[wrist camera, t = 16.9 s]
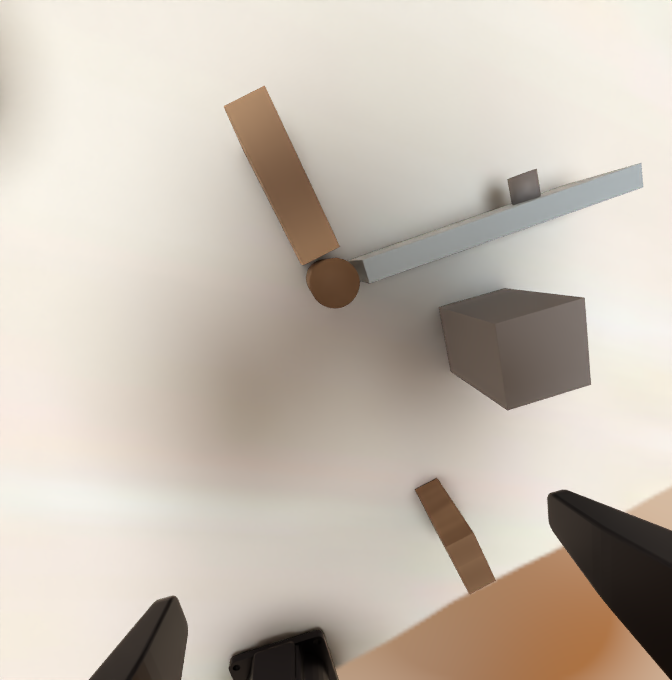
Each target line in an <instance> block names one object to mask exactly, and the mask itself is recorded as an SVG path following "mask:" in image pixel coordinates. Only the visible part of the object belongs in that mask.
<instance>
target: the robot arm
mask: <svg viewBox="0 0 672 680" xmlns="http://www.w3.org/2000/svg"><path fill="white" fill-rule="evenodd" d="M547 501H548V519H549V524H550V527H551V529H552V531H553V532H554V534H555V535H556V536H557V538H558V539H559V541H560V542H561V543H562V545H563V546H564V548H565V549H566V550H567V552H568V553H569V554H570V556H571V557H572V559H573V560H574V561H575V563H576V564H577V565H578V567H579V568H580V570H581V571H582V572H583V573H584V575H585V577H586V578H587V579H588V580H589V582H590V583H591V585H592V586H593V588H594V589H595V590H596V592H597V593H598V594H599V595H600V597H601V598H602V599H603V601H604V602H605V603H606V604H607V605H608V607H609V608H610V609H611V610H612V611H613V613H614V614H615V615H616V616H617V617H618V619H619V620H620V621H621V622H622V623H623V624H624V626H625V627H626V628H627V629H628V630H629V631H630V633H631V634H632V635H633V636H634V637H635V639H636V640H637V641H638V642H639V643H640V644H641V646H642V647H643V648H644V649H645V650H646V651H647V653H648V654H649V655H650V656H651V657H652V659H653V660H654V661H655V662H656V663H657V664H658V666H659V667H660V668H661V669H662V670H663V671H664V673H665V674H666V675H667V676H668V677H669V679H670V680H672V531H671V530H669V529H666V528H664V527H661V526H659V525H656V524H653V523H650V522H648V521H646V520H643V519H640V518H638V517H635V516H633V515H630V514H628V513H625V512H622V511H620V510H617V509H615V508H612V507H610V506H607V505H604V504H602V503H599V502H597V501H594V500H591V499H589V498H586V497H584V496H581V495H579V494H576V493H573V492H571V491H568V490H559V491H556V492H552V493H550V494H549V495H548V497H547ZM187 636H188V625H187V621H186V618H185V615H184V613H183V610H182V608H181V605H180V603H179V600H178V598H177V597H176V596H170V597H166V598H162V599H159V600H157V601H155V602H154V603H153V604H152V605H151V607H150V608H149V609H148V610H147V611H146V612H145V614H144V615H143V616H142V617H141V618H140V620H139V621H138V622H137V623H136V624H135V626H134V627H133V628H132V629H131V630H130V631H129V633H128V634H127V635H126V636H125V637H124V639H123V640H122V641H121V642H120V643H119V645H118V646H117V647H116V648H115V649H114V650H113V652H112V653H111V654H110V655H109V656H108V658H107V659H106V660H105V661H104V662H103V664H102V665H101V666H100V667H99V668H98V669H97V671H96V672H95V673H94V674H93V675H92V677H91V678H90V679H89V680H181V677H182V670H183V663H184V656H185V650H186V643H187ZM229 671H230V673H231V676H232V678H233V680H339V679H338V676H337V673H336V670H335V667H334V663H333V660H332V657H331V654H330V651H329V648H328V645H327V642H326V639H325V636H324V633H323V632H322V631H320V630H315V631H312V632H309V633H306V634H302V635H299V636H296V637H293V638H290V639H286V640H283V641H280V642H277V643H274V644H271V645H267V646H264V647H261V648H258V649H255V650H252V651H248V652H245V653H242V654H239V655H236V656H233V657H232V658H231V659H230V664H229Z"/></svg>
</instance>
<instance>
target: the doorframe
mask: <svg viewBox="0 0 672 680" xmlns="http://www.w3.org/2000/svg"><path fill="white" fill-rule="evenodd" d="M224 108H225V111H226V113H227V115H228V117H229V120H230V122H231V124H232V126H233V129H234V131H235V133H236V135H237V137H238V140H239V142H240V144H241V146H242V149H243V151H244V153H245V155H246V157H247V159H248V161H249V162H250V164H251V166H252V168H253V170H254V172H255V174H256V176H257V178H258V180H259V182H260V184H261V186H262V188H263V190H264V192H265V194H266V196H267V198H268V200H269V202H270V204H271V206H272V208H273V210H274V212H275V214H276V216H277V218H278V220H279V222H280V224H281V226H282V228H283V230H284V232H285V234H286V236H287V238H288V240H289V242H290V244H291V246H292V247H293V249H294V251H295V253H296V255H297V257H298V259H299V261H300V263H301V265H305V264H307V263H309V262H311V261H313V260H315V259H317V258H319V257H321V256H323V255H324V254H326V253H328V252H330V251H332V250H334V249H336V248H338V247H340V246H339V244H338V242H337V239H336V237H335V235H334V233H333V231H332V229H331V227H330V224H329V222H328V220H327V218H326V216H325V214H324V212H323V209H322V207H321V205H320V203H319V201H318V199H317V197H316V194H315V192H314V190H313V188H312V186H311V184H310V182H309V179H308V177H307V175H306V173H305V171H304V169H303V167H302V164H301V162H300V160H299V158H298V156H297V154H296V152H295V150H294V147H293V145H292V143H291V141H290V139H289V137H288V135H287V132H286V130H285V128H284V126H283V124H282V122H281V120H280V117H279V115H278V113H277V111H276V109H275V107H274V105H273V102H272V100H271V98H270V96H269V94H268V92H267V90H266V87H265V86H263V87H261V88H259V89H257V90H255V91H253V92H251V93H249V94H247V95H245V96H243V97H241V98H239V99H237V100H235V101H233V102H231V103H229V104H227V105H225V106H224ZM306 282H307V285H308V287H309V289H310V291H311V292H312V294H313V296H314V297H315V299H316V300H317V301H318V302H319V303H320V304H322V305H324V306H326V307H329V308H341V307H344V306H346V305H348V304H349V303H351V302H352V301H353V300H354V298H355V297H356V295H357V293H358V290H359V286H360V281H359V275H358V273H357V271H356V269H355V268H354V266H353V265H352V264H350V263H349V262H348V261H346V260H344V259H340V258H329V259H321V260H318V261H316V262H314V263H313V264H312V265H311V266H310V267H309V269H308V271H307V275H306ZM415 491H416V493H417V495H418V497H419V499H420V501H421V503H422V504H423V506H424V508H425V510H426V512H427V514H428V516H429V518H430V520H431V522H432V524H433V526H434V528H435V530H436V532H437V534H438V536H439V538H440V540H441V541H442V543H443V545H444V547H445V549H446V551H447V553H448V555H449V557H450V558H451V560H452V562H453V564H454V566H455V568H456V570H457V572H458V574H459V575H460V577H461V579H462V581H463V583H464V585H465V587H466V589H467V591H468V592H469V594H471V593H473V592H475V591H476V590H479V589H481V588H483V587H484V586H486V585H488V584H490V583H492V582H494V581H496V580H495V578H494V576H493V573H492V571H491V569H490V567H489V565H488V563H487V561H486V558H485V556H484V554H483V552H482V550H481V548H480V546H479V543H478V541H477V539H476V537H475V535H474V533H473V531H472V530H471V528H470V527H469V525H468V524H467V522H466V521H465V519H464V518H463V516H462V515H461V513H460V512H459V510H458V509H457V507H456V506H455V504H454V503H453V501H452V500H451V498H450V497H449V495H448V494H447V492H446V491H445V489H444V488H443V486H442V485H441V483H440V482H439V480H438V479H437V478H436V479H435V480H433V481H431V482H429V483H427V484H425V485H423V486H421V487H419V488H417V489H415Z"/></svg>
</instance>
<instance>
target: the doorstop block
mask: <svg viewBox="0 0 672 680" xmlns="http://www.w3.org/2000/svg"><path fill="white" fill-rule="evenodd" d="M439 310H440V316H441V321H442V327H443V332H444V338H445V343H446V349H447V354H448V359H449V365H450V370H451V372H452V373H454V374H455V375H457V376H458V377H460V378H461V379H462V380H464V381H465V382H467V383H468V384H470V385H471V386H473V387H474V388H476V389H477V390H479V391H480V392H481V393H483V394H484V395H486V396H487V397H489V398H490V399H492V400H493V401H495V402H496V403H498V404H499V405H500V406H502V407H503V408H505V409H506V410H510V409H514V408H517V407H520V406H523V405H527V404H530V403H533V402H536V401H539V400H543V399H546V398H549V397H552V396H556V395H559V394H562V393H565V392H569V391H572V390H575V389H578V388H582V387H585V386H588V385H591V378H590V365H589V351H588V337H587V323H586V310H585V298H582V297H574V296H565V295H557V294H548V293H540V292H531V291H523V290H514V289H506V288H504V289H501V290H497V291H494V292H490V293H487V294H483V295H480V296H476V297H473V298H469V299H466V300H462V301H459V302H455V303H452V304H448V305H444V306H441V307H439Z"/></svg>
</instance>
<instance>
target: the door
mask: <svg viewBox="0 0 672 680" xmlns="http://www.w3.org/2000/svg"><path fill="white" fill-rule="evenodd" d="M507 180H508V186H509V191H510V197H511V202H512V204H509V205H506V206H503V207H500V208H497V209H494V210H492V211H489V212H486V213H483V214H480V215H477V216H474V217H471V218H469V219H466V220H463V221H460V222H457V223H454V224H451V225H449V226H446V227H443V228H440V229H437V230H434V231H431V232H428V233H426V234H423V235H420V236H417V237H414V238H411V239H408V240H405V241H403V242H400V243H397V244H394V245H391V246H388V247H385V248H382V249H380V250H377V251H374V252H371V253H368V254H365V255H362V256H359V257H357V258H354V259H351V260H348V262H349V263H350V264H352V265H353V266H354V268H355V269H356V271H357V273H358V275H359V281H362V282H366V283H373V282H376V281H378V280H381V279H384V278H387V277H390V276H393V275H395V274H398V273H401V272H404V271H407V270H410V269H412V268H415V267H418V266H421V265H424V264H427V263H429V262H432V261H435V260H438V259H441V258H444V257H447V256H449V255H452V254H455V253H458V252H461V251H464V250H466V249H469V248H472V247H475V246H478V245H481V244H483V243H486V242H489V241H492V240H495V239H498V238H500V237H503V236H506V235H509V234H512V233H515V232H517V231H520V230H523V229H526V228H529V227H532V226H535V225H537V224H540V223H543V222H546V221H549V220H552V219H554V218H557V217H560V216H563V215H566V214H569V213H571V212H574V211H577V210H580V209H583V208H586V207H588V206H591V205H594V204H597V203H600V202H603V201H606V200H608V199H611V198H614V197H617V196H620V195H623V194H625V193H628V192H631V191H634V190H637V189H640V188H642V187H643V178H642V166H641V163H639V164H636V165H632V166H629V167H625V168H622V169H618V170H615V171H611V172H608V173H604V174H601V175H598V176H594V177H591V178H587V179H584V180H580V181H577V182H573V183H570V184H566V185H563V186H561V187H558V188H555V189H552V190H549V191H546V192H543V193H540V187H539V180H538V174H537V169H534V170H531V171H528V172H526V173H523V174H520V175H517V176H515V177H512V178H509V179H507Z"/></svg>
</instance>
